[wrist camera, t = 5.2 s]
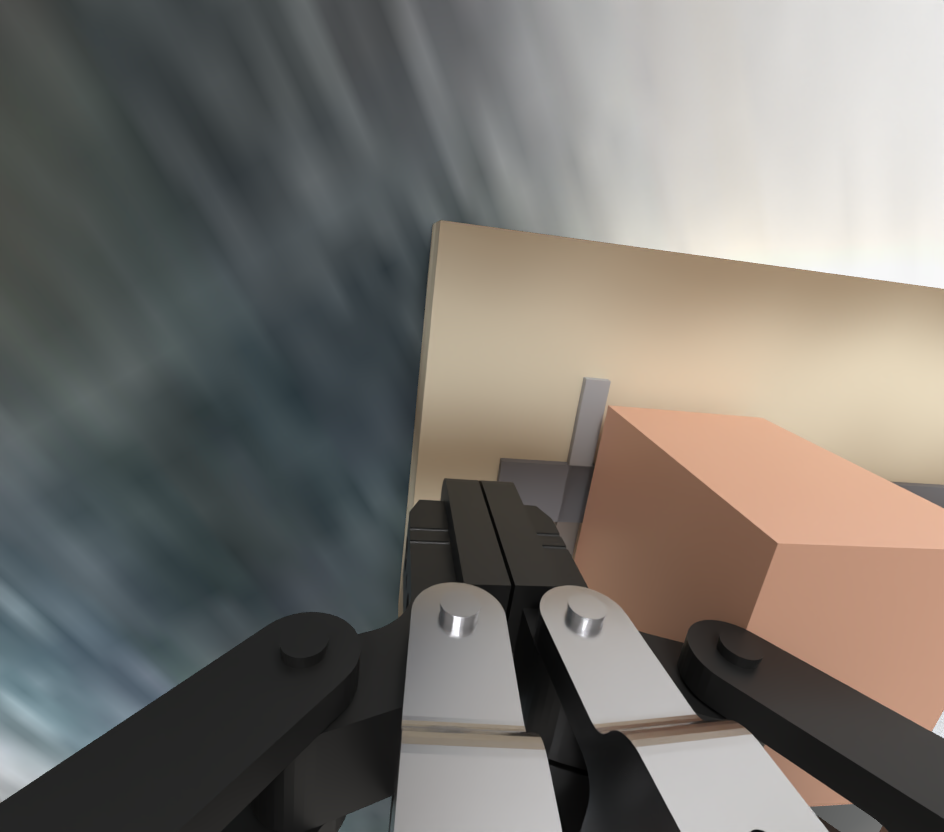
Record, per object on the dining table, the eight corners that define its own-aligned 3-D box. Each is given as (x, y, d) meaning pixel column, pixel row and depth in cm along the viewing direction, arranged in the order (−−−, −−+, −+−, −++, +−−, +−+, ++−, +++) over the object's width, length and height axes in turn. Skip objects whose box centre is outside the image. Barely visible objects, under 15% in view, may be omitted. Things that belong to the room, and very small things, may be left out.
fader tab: (608, 405, 12) (778, 543, 6) (762, 418, 12) (1032, 552, 7) (568, 584, 13) (678, 814, 8) (706, 587, 14) (892, 801, 9)
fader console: (432, 224, 13) (441, 219, 10) (1183, 325, 17) (1347, 344, 14) (398, 601, 17) (397, 680, 14) (1019, 609, 21) (1122, 671, 18)
